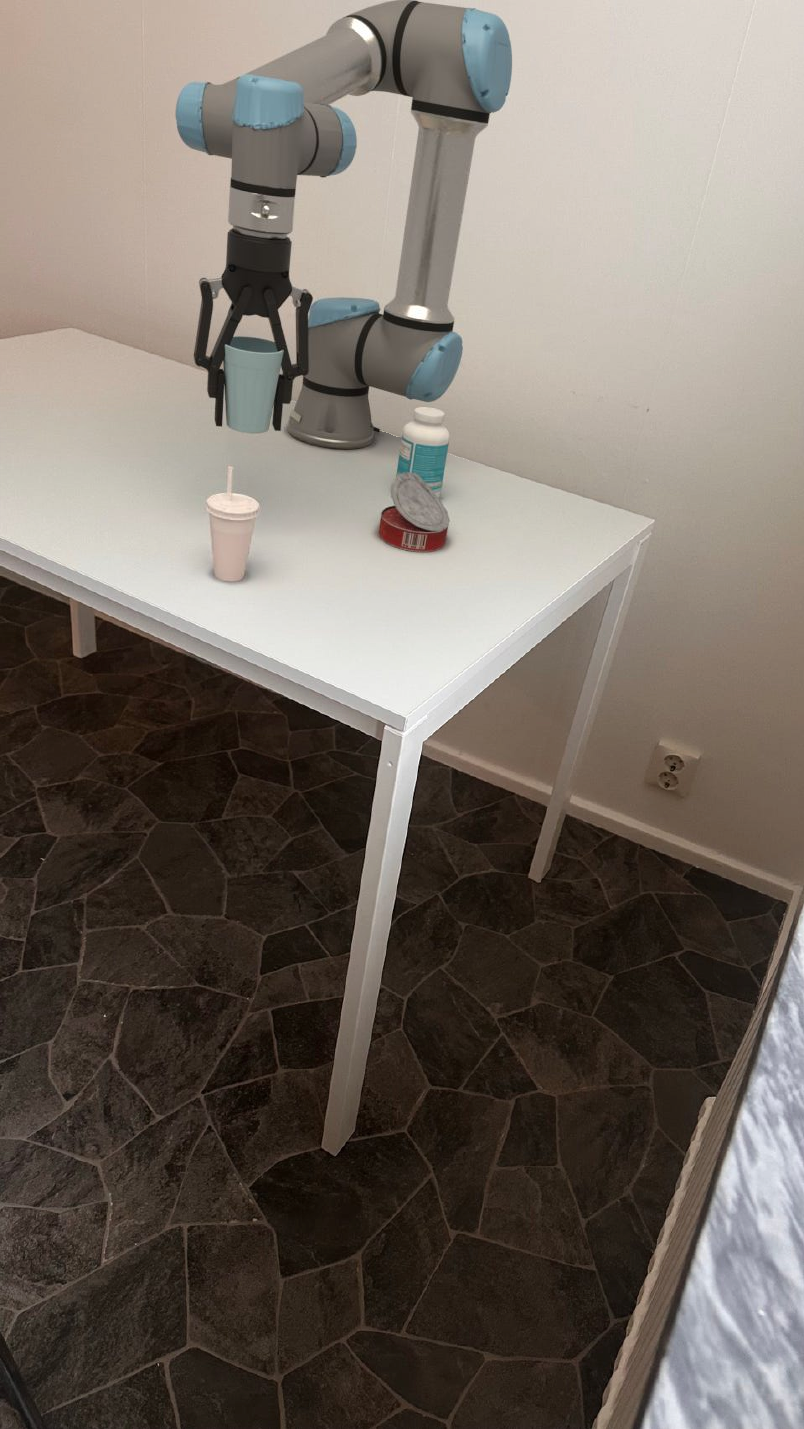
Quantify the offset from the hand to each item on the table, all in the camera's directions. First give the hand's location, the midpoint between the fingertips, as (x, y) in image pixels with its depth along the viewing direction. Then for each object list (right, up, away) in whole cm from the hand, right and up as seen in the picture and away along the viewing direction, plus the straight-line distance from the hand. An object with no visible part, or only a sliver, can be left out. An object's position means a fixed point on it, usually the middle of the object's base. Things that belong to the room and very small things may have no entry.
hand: (247, 425), depth 128 cm
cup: (0, 0, 0) cm, 0 cm away
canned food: (+22, -12, +15) cm, 29 cm away
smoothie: (-2, -20, -4) cm, 21 cm away
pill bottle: (+22, -3, +30) cm, 38 cm away
